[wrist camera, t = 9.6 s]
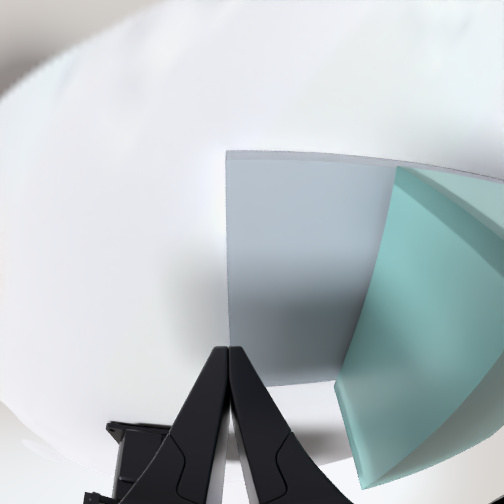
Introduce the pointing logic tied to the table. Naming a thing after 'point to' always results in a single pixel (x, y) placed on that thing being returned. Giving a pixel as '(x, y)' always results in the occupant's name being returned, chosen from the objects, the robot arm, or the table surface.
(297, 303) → the grey flat rectangular block
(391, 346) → the block
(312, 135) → the table surface
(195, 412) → the robot arm
